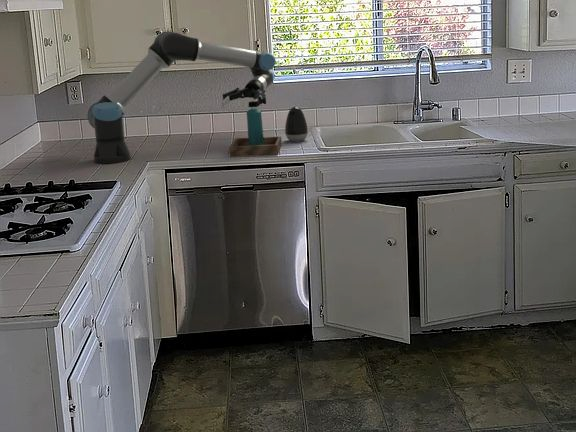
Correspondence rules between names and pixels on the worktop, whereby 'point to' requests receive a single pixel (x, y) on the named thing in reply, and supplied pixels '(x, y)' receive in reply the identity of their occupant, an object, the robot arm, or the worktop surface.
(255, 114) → the beverage bottle
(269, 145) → the walnut tray
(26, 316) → the worktop surface
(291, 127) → the egg on grey base
